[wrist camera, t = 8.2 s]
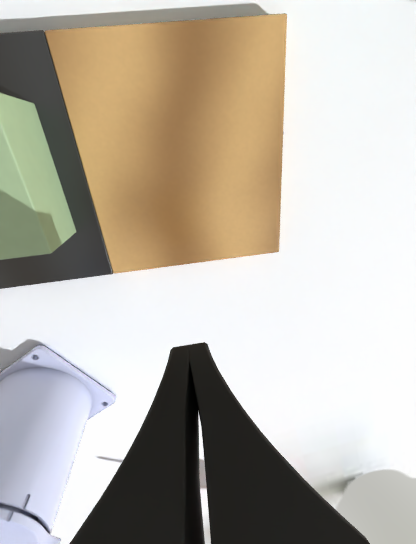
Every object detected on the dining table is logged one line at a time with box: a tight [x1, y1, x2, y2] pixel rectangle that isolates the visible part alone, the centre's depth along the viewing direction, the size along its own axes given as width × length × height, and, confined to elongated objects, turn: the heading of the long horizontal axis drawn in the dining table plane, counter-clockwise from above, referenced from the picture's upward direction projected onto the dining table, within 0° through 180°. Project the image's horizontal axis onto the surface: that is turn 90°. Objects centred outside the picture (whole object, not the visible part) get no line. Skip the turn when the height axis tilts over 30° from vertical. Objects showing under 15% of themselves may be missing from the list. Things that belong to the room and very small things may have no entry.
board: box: [0, 13, 287, 289], centre depth 14 cm, size 20×12×1 cm, turn 95°
